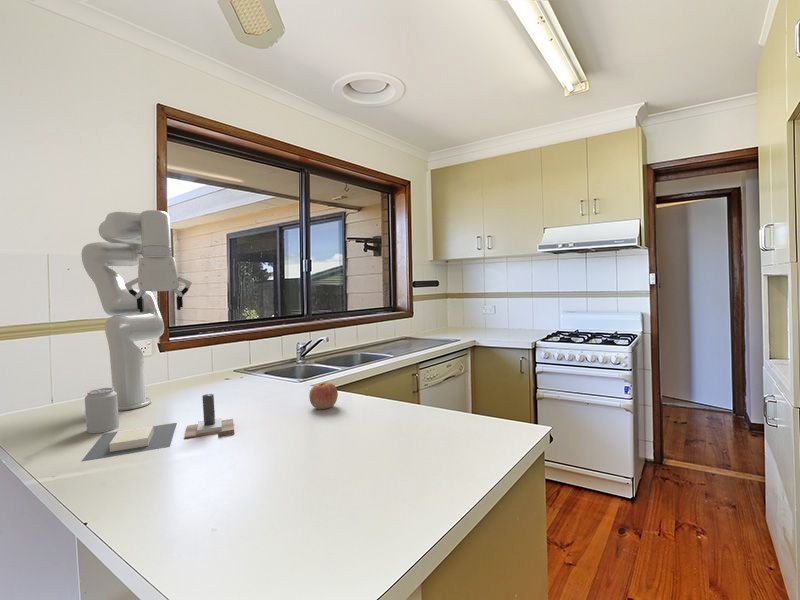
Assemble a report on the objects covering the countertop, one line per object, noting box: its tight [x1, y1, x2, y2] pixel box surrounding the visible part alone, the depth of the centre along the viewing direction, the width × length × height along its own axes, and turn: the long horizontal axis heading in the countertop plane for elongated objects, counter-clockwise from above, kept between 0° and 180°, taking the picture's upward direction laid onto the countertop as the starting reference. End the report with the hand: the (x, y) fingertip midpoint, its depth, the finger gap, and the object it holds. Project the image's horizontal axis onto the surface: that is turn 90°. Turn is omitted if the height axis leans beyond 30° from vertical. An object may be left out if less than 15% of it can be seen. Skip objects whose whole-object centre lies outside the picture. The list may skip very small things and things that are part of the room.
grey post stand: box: [197, 393, 223, 434], centre depth 116 cm, size 8×6×9 cm
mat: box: [80, 422, 178, 462], centre depth 110 cm, size 20×18×1 cm
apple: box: [308, 381, 339, 410], centre depth 134 cm, size 9×9×8 cm
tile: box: [109, 425, 154, 452], centre depth 108 cm, size 2×8×10 cm
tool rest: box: [184, 418, 235, 440], centre depth 116 cm, size 10×12×1 cm
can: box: [84, 387, 120, 434], centre depth 119 cm, size 8×8×12 cm
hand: (160, 310), depth 125 cm, fingers open, 9 cm apart
